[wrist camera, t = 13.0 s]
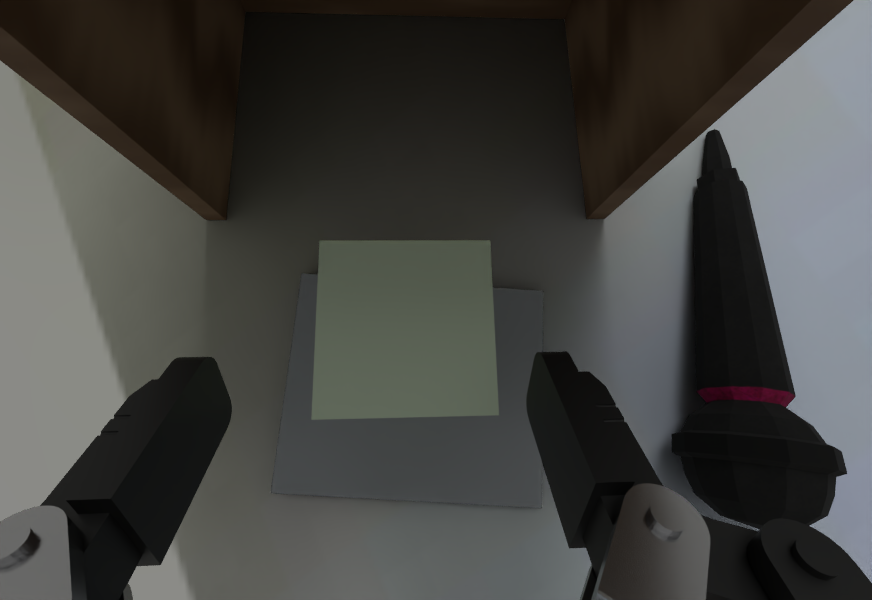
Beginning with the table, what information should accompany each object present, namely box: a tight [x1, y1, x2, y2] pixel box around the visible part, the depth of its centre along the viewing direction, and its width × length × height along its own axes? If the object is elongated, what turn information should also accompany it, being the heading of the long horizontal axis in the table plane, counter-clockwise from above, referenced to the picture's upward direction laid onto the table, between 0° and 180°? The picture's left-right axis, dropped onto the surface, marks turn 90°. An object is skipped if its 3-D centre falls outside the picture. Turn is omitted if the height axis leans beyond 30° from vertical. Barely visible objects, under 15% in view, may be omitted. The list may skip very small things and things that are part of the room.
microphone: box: [672, 129, 847, 529], centre depth 19 cm, size 6×6×20 cm
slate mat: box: [271, 273, 543, 508], centre depth 19 cm, size 12×10×1 cm
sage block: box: [311, 240, 499, 420], centre depth 14 cm, size 4×4×9 cm
